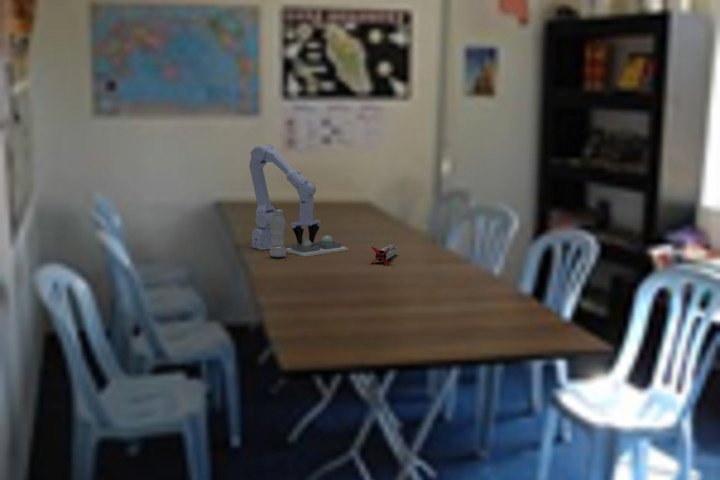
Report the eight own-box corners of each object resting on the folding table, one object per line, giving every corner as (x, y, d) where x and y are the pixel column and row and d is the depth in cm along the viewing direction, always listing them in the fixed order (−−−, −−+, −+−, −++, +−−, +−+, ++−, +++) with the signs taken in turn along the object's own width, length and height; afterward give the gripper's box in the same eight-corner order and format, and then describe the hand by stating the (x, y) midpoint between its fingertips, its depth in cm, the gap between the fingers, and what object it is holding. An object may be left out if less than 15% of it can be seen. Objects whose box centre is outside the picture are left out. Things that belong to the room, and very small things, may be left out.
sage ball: (326, 248, 370) (326, 236, 369) (319, 246, 373) (319, 235, 372) (335, 247, 373) (335, 235, 372) (327, 245, 377) (328, 234, 376)
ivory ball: (304, 251, 362) (304, 240, 361) (297, 249, 366) (297, 238, 364) (313, 249, 365) (313, 238, 364) (306, 247, 369) (306, 236, 368)
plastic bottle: (283, 259, 350) (284, 210, 346) (267, 258, 351) (268, 209, 347) (287, 256, 356) (288, 208, 352) (272, 255, 357) (272, 207, 353)
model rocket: (409, 251, 365) (394, 232, 366) (397, 258, 343) (381, 238, 344) (390, 266, 368) (375, 248, 369) (377, 274, 346) (361, 255, 346)
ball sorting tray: (304, 256, 356) (304, 249, 356) (284, 250, 367) (284, 243, 366) (348, 250, 372) (348, 243, 372) (327, 244, 382) (327, 238, 382)
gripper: (298, 214, 354) (297, 246, 357) (325, 211, 364) (324, 242, 367) (288, 211, 360) (287, 243, 362) (315, 209, 369) (314, 240, 372)
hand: (305, 243), depth 365 cm, fingers open, 6 cm apart
